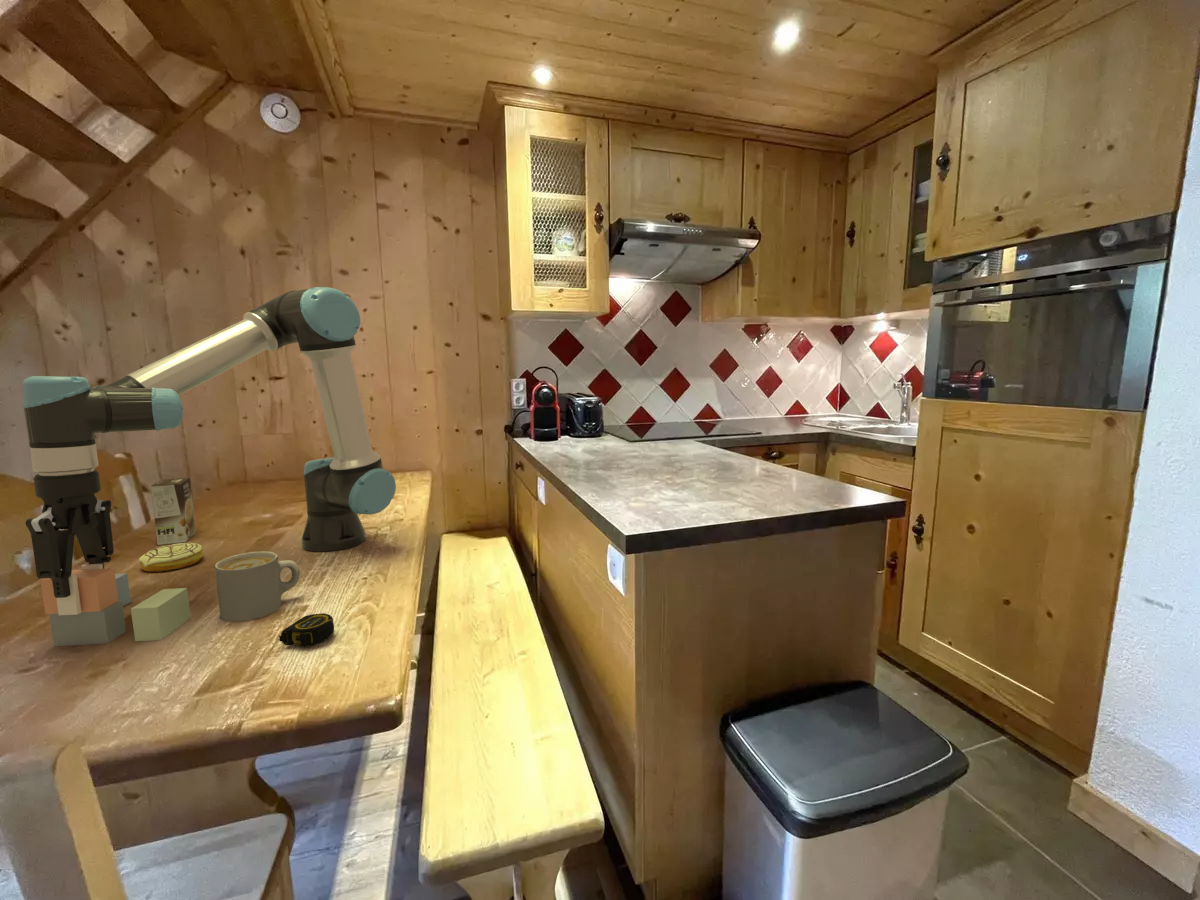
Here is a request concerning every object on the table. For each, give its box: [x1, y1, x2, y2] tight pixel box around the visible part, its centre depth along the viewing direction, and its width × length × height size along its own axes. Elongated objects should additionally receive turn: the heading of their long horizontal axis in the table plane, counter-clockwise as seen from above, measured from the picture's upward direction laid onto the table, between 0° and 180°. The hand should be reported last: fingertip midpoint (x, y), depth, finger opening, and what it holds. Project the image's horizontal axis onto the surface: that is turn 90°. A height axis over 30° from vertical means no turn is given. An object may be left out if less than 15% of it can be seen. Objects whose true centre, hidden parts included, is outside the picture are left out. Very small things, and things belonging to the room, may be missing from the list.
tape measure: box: [278, 612, 335, 647], centre depth 89 cm, size 7×7×4 cm
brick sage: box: [130, 587, 192, 642], centre depth 92 cm, size 8×4×6 cm, turn 8°
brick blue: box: [115, 573, 132, 607], centre depth 100 cm, size 8×4×6 cm, turn 98°
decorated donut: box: [138, 542, 204, 573], centre depth 123 cm, size 11×12×4 cm
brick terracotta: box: [39, 567, 119, 615], centre depth 87 cm, size 8×4×6 cm, turn 98°
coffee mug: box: [214, 550, 300, 623], centre depth 100 cm, size 13×10×10 cm
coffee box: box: [150, 477, 197, 546], centre depth 140 cm, size 9×6×16 cm
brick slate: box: [48, 601, 127, 647], centre depth 88 cm, size 8×4×6 cm, turn 98°
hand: (83, 606), depth 88 cm, fingers open, 5 cm apart
